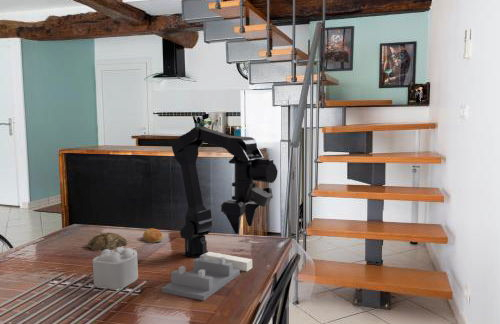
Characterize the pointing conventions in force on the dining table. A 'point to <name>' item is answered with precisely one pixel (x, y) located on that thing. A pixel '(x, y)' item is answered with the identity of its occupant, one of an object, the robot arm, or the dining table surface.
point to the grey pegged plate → (201, 278)
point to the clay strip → (232, 260)
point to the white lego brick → (115, 268)
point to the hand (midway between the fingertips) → (243, 229)
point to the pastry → (152, 235)
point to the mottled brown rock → (106, 241)
